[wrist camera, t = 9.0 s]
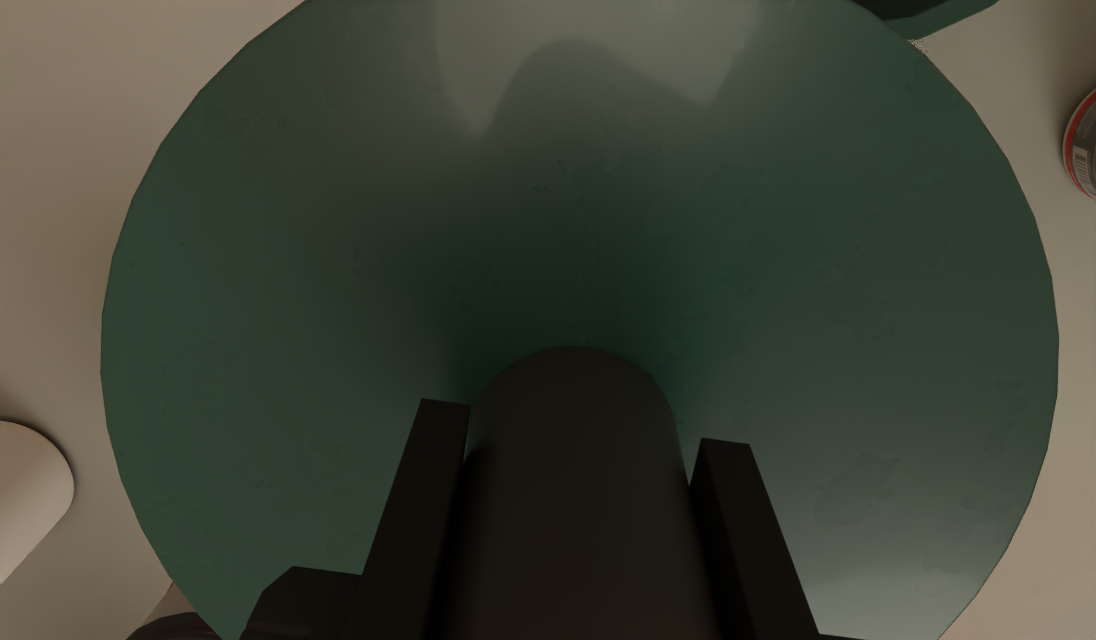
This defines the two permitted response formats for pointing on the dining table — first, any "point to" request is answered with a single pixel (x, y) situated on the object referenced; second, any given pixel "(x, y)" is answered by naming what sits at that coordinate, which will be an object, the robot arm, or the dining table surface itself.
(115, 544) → the dining table surface
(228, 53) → the dining table surface
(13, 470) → the can
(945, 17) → the pot
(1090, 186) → the pill bottle
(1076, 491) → the dining table surface
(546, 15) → the pot lid
